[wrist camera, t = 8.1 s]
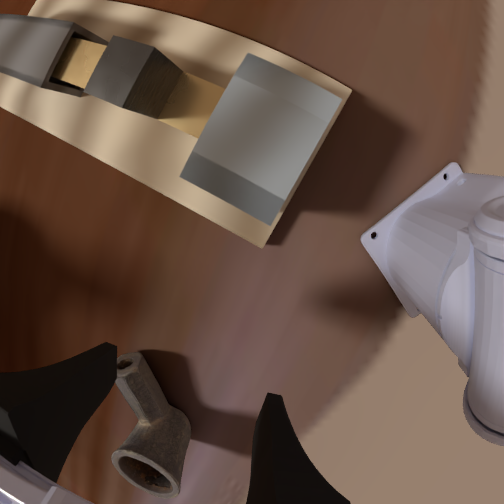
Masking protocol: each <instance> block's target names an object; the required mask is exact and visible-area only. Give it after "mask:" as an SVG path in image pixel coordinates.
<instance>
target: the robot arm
mask: <svg viewBox="0 0 504 504" xmlns="http://www.w3.org/2000/svg"><path fill="white" fill-rule="evenodd" d="M444 174H446V175H447V179H446V180H444V178H443V176H444ZM372 232H376V237H375V238H371V234H372ZM361 243H362V244H363V246H364V247H365V249H366V250H367V252H368V253H369V254H370V256H371V257H372V259H373V260H374V262H375V263H376V265H377V266H378V268H379V269H380V271H381V272H382V274H383V275H384V277H385V278H386V280H387V281H388V283H389V285H390V286H391V288H392V289H393V291H394V292H395V294H396V295H397V297H398V299H399V300H400V302H401V303H402V305H403V307H404V308H405V310H406V312H407V313H408V315H409V316H410V317H412V318H413V317H416V316H418V315H419V314H420V313H422V314H423V315H424V317H425V318H426V319H427V320H428V322H429V323H430V324H431V325H432V326H433V328H434V329H435V330H436V331H437V332H438V334H439V335H440V336H441V338H442V339H443V340H444V341H445V343H446V344H447V345H448V346H449V348H450V349H451V350H452V352H453V353H455V355H456V356H457V357H458V361H459V362H458V364H459V366H460V367H461V368H462V370H463V371H464V373H465V374H466V375H467V377H469V380H468V382H467V385H466V388H465V390H464V397H463V409H464V414H465V417H466V420H467V422H468V423H469V425H470V427H471V428H472V429H473V430H474V431H475V432H476V433H477V434H478V435H479V436H481V437H482V438H483V439H485V440H487V441H489V442H491V443H494V444H497V445H500V446H504V177H503V176H494V175H483V174H473V173H463V172H462V170H461V168H460V166H459V165H458V164H457V163H455V162H451V163H449V164H448V165H447V166H446V167H445V168H444V169H442V170H441V171H440V172H439V173H438V174H436V175H435V176H434V177H433V178H432V179H431V180H429V181H428V182H427V183H426V184H425V185H423V186H422V187H421V188H420V189H418V190H417V191H416V192H415V193H414V194H412V195H411V196H410V197H409V198H407V199H406V200H405V201H404V202H403V203H401V204H400V205H399V206H398V207H396V208H395V209H394V210H393V211H391V212H390V213H389V214H388V215H386V216H385V217H384V218H382V219H381V220H380V221H379V222H377V223H376V224H375V225H374V226H372V227H371V228H370V229H368V230H367V231H366V232H365V233H363V234H362V236H361ZM417 308H418V309H417ZM116 379H117V346H115V345H112V344H110V343H107V342H105V343H103V344H100V345H98V346H96V347H94V348H92V349H90V350H88V351H86V352H83V353H81V354H79V355H77V356H74V357H72V358H69V359H67V360H64V361H62V362H59V363H56V364H53V365H50V366H46V367H42V368H38V369H33V370H27V371H21V372H9V373H0V504H94V503H92V502H90V501H88V500H86V499H84V498H82V497H80V496H78V495H76V494H74V493H72V492H70V491H68V490H67V489H65V488H63V487H61V486H60V485H58V484H56V482H57V480H58V477H59V475H60V472H61V470H62V467H63V465H64V463H65V461H66V459H67V456H68V454H69V452H70V450H71V448H72V446H73V444H74V442H75V441H76V439H77V437H78V435H79V434H80V432H81V430H82V428H83V427H84V425H85V424H86V423H87V421H88V420H89V419H90V417H91V416H92V415H93V413H94V412H95V411H96V409H97V408H98V407H99V406H100V404H101V403H102V402H103V400H104V399H105V398H106V396H107V395H108V393H109V392H110V390H111V388H112V386H113V385H114V383H115V381H116ZM246 504H350V501H349V500H347V499H346V498H345V497H344V496H342V495H341V494H340V493H339V492H338V491H336V490H335V489H334V488H333V487H332V486H331V485H330V484H329V483H328V482H327V481H326V480H325V478H324V477H323V476H322V475H321V474H320V473H319V471H318V470H317V469H316V468H315V466H314V465H313V463H312V462H311V461H310V459H309V458H308V456H307V454H306V453H305V452H304V450H303V448H302V446H301V444H300V442H299V440H298V438H297V436H296V434H295V432H294V429H293V427H292V425H291V422H290V420H289V417H288V414H287V411H286V408H285V405H284V402H283V398H282V396H281V395H277V394H272V393H267V396H266V398H265V401H264V403H263V406H262V409H261V411H260V414H259V416H258V419H257V421H256V426H255V431H254V436H253V445H252V461H251V477H250V486H249V491H248V497H247V502H246Z"/></svg>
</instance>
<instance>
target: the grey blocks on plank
mask: <svg viewBox="0 0 504 504" xmlns="http://www.w3.org/2000/svg"><path fill="white" fill-rule="evenodd" d="M113 35H115V36H119V37H122V38H126V39H130V40H133V41H137V42H140V43H143V44H147V45H150V46H153V47H155V48H157V49H158V50H159V51H160V52H161V53H162V54H164V55H165V56H166V57H167V58H168V59H170V60H171V61H172V62H173V63H174V64H175V65H177V66H178V67H179V68H180V69H181V70H182V71H183V72H186V73H189V74H191V75H194V76H196V77H199V78H201V79H203V80H206V81H208V82H211V83H213V84H215V85H218V86H220V87H222V88H225V89H226V90H225V91H224V93H223V95H222V96H221V98H220V100H219V102H218V104H217V105H216V107H215V109H214V111H213V112H212V114H211V116H210V118H209V120H208V122H207V123H206V125H205V127H204V129H203V131H202V133H201V135H200V137H199V138H196V137H193V136H191V135H189V134H187V133H185V132H183V131H181V130H179V129H177V128H175V127H172V126H170V125H168V124H166V123H164V122H162V121H159V120H157V119H154V118H151V117H148V116H145V115H142V114H139V113H136V112H133V111H130V110H127V109H123V108H121V107H118V106H116V105H114V104H111V103H109V102H106V101H104V100H102V99H99V98H97V97H94V96H92V95H90V94H87V93H85V92H83V91H84V88H81V87H79V86H76V85H74V84H71V83H68V82H66V81H63V80H60V79H57V78H55V77H52V76H51V75H52V73H53V70H54V68H55V66H56V64H57V62H58V60H59V58H60V56H61V54H62V52H63V50H64V49H65V47H66V45H67V43H68V41H69V39H70V38H71V37H74V38H78V39H82V40H86V41H90V42H94V43H98V44H102V45H105V46H107V45H108V43H109V42H110V40H111V38H112V37H113ZM351 92H352V90H351V89H350V88H348V87H346V86H344V85H343V84H341V83H339V82H337V81H336V80H334V79H332V78H330V77H328V76H327V75H325V74H323V73H321V72H319V71H317V70H315V69H313V68H311V67H309V66H307V65H305V64H303V63H301V62H299V61H297V60H295V59H293V58H291V57H289V56H287V55H285V54H282V53H280V52H278V51H276V50H274V49H271V48H269V47H267V46H264V45H262V44H259V43H257V42H255V41H252V40H250V39H247V38H245V37H242V36H239V35H237V34H234V33H231V32H229V31H226V30H223V29H220V28H217V27H214V26H211V25H208V24H205V23H202V22H199V21H195V20H192V19H189V18H185V17H182V16H178V15H174V14H171V13H167V12H163V11H159V10H154V9H150V8H146V7H141V6H136V5H131V4H126V3H120V2H114V1H108V0H37V1H36V2H35V4H34V6H33V7H32V9H31V11H30V12H29V14H28V16H24V15H12V14H0V107H2V108H4V109H6V110H8V111H10V112H11V113H13V114H15V115H17V116H19V117H21V118H23V119H25V120H27V121H28V122H30V123H32V124H34V125H36V126H38V127H40V128H42V129H43V130H45V131H47V132H49V133H51V134H53V135H55V136H57V137H58V138H60V139H62V140H64V141H66V142H68V143H70V144H71V145H73V146H75V147H77V148H79V149H81V150H83V151H84V152H86V153H88V154H90V155H92V156H94V157H96V158H97V159H99V160H101V161H103V162H105V163H107V164H109V165H110V166H112V167H114V168H116V169H118V170H120V171H121V172H123V173H125V174H127V175H129V176H131V177H132V178H134V179H136V180H138V181H140V182H142V183H144V184H145V185H147V186H149V187H151V188H153V189H155V190H156V191H158V192H160V193H162V194H164V195H166V196H167V197H169V198H171V199H173V200H175V201H176V202H178V203H180V204H182V205H184V206H186V207H187V208H189V209H191V210H193V211H195V212H197V213H198V214H200V215H202V216H204V217H206V218H207V219H209V220H211V221H213V222H215V223H217V224H218V225H220V226H222V227H224V228H226V229H227V230H229V231H231V232H233V233H235V234H236V235H238V236H240V237H242V238H244V239H245V240H247V241H249V242H251V243H253V244H254V245H256V246H258V247H260V248H262V249H263V247H264V245H265V243H266V242H267V240H268V238H269V236H270V235H271V233H272V231H273V229H274V228H275V226H276V224H277V222H278V221H279V219H280V217H281V215H282V214H283V212H284V210H285V208H286V207H287V205H288V203H289V201H290V200H291V198H292V196H293V194H294V193H295V191H296V189H297V187H298V186H299V184H300V182H301V180H302V179H303V177H304V175H305V173H306V171H307V170H308V168H309V166H310V164H311V163H312V161H313V159H314V157H315V156H316V154H317V152H318V150H319V149H320V147H321V145H322V143H323V141H324V140H325V138H326V136H327V134H328V133H329V131H330V129H331V127H332V126H333V124H334V122H335V120H336V118H337V117H338V115H339V113H340V111H341V110H342V108H343V106H344V104H345V102H346V101H347V99H348V97H349V95H350V94H351Z"/></svg>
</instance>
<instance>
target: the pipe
mask: <svg viewBox="0 0 504 504" xmlns="http://www.w3.org/2000/svg"><path fill="white" fill-rule="evenodd" d="M115 383H116V385H117V386H118V388H119V390H120V391H121V393H122V395H123V396H124V398H125V399H126V401H127V402H128V404H129V405H130V407H131V408H132V410H133V411H134V413H135V414H136V416H137V418H138V419H139V422H138V423H137V425H136V426H135V428H134V429H133V431H132V432H131V434H130V435H129V436H128V438H127V439H126V440H125V442H124V443H123V444H122V445H121V446H120V447H119V448H118V449H117V450H116V451H115V452H114V453H113V454H112V463H113V465H114V466H115V468H116V469H117V470H118V472H119V473H120V474H121V475H122V476H123V477H124V478H125V479H126V480H127V481H129V482H130V483H131V484H133V485H134V486H136V487H138V488H139V489H141V490H143V491H145V492H147V493H149V494H151V495H154V496H156V497H160V498H174V497H176V496H178V494H179V492H180V484H181V477H182V471H183V465H184V459H185V455H186V450H187V447H188V444H189V441H190V437H191V426H190V423H189V420H188V418H187V417H186V415H185V414H184V413H183V412H182V411H180V410H179V409H176V408H174V407H172V406H171V405H169V404H168V402H167V400H166V398H165V396H164V394H163V392H162V390H161V388H160V386H159V384H158V382H157V380H156V379H155V377H154V375H153V373H152V371H151V370H150V368H149V366H148V364H147V362H146V360H145V359H144V357H143V355H142V354H141V353H139V352H135V353H127V354H123V355H121V356H120V357H118V358H117V379H116V381H115Z"/></svg>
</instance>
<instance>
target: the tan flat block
mask: <svg viewBox="0 0 504 504" xmlns="http://www.w3.org/2000/svg"><path fill="white" fill-rule="evenodd" d="M51 76H52V77H55V78H57V79H60V80H63V81H66V82H68V83H71V84H74V85H76V86H79V87H81V88H84V91H83V92H85V93H87V94H90V95H92V96H94V97H97V98H99V99H102V100H104V101H106V102H109V103H111V104H114V105H116V106H118V107H121V108H123V109H127V110H130V111H133V112H136V113H139V114H142V115H145V116H148V117H151V118H154V119H157V120H159V121H162V122H164V123H166V124H168V125H170V126H172V127H175V128H177V129H179V130H181V131H183V132H185V133H187V134H189V135H191V136H193V137H196V138H199V137H200V135H201V133H202V131H203V129H204V127H205V125H206V123H207V122H208V120H209V118H210V116H211V114H212V112H213V111H214V109H215V107H216V105H217V104H218V102H219V100H220V98H221V96H222V95H223V93H224V91H225V90H226V89H225V88H222V87H220V86H218V85H215V84H213V83H211V82H208V81H206V80H203V79H201V78H199V77H196V76H194V75H191V74H189V73H186V72H183V71H182V70H181V69H180V68H179V67H178V66H177V65H175V64H174V63H173V62H172V61H171V60H170V59H168V58H167V57H166V56H165V55H164V54H162V53H161V52H160V51H159V50H158V49H157V48H155V47H153V46H150V45H147V44H143V43H140V42H137V41H133V40H130V39H126V38H122V37H119V36H115V35H113V37H112V38H111V40H110V42H109V43H108V45H107V46H105V45H102V44H98V43H94V42H90V41H86V40H82V39H78V38H74V37H71V38H70V39H69V41H68V43H67V45H66V47H65V49H64V50H63V52H62V54H61V56H60V58H59V60H58V62H57V64H56V66H55V68H54V70H53V73H52V75H51Z"/></svg>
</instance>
